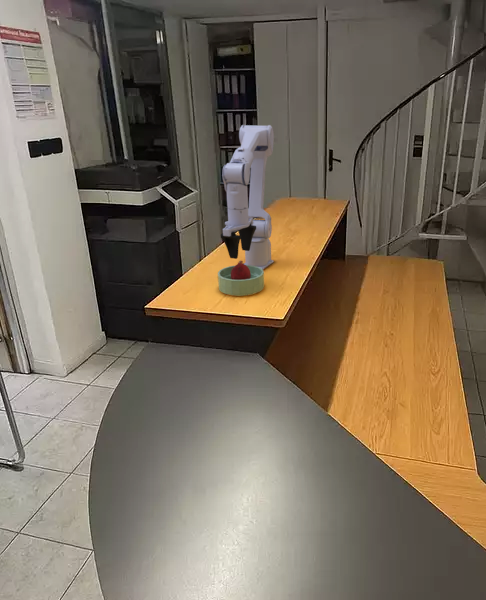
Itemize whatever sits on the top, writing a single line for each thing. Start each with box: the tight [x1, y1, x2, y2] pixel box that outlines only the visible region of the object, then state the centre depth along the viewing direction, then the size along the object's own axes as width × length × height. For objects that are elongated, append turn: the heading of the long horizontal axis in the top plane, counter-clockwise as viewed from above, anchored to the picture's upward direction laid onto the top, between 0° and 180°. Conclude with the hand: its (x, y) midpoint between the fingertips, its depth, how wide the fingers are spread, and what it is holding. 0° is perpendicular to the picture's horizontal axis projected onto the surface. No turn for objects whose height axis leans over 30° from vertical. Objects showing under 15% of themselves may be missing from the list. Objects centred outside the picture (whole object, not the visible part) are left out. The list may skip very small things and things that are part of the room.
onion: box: [231, 260, 251, 280], centre depth 140 cm, size 6×6×8 cm
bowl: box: [217, 265, 265, 297], centre depth 141 cm, size 13×13×5 cm
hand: (240, 254), depth 140 cm, fingers open, 7 cm apart
